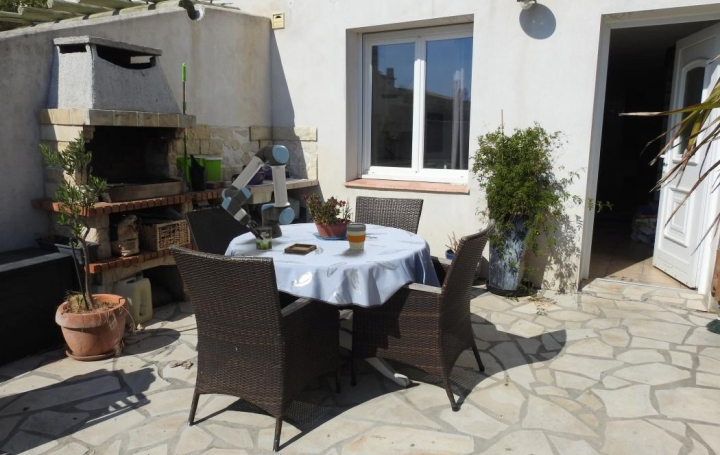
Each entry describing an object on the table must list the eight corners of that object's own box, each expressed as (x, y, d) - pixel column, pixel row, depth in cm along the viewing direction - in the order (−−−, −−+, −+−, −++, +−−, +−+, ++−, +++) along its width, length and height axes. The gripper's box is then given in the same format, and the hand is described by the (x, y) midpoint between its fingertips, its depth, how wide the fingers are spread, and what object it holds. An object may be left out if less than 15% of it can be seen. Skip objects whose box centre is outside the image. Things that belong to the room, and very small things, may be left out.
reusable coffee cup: (349, 251, 330) (349, 228, 326) (344, 246, 341) (344, 224, 338) (368, 249, 333) (368, 226, 330) (363, 245, 345) (363, 222, 342)
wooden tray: (295, 246, 343) (295, 243, 343) (316, 248, 338) (316, 244, 337) (284, 252, 330) (284, 248, 329) (305, 254, 324) (305, 250, 324)
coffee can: (272, 250, 335) (271, 229, 332) (256, 251, 333) (255, 230, 330) (272, 246, 345) (271, 225, 342) (256, 247, 343) (255, 226, 340)
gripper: (243, 217, 346) (268, 240, 349) (234, 224, 324) (261, 249, 327) (250, 209, 345) (275, 233, 348) (242, 216, 323) (269, 240, 326)
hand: (268, 240), depth 337 cm, fingers closed on coffee can, 10 cm apart
